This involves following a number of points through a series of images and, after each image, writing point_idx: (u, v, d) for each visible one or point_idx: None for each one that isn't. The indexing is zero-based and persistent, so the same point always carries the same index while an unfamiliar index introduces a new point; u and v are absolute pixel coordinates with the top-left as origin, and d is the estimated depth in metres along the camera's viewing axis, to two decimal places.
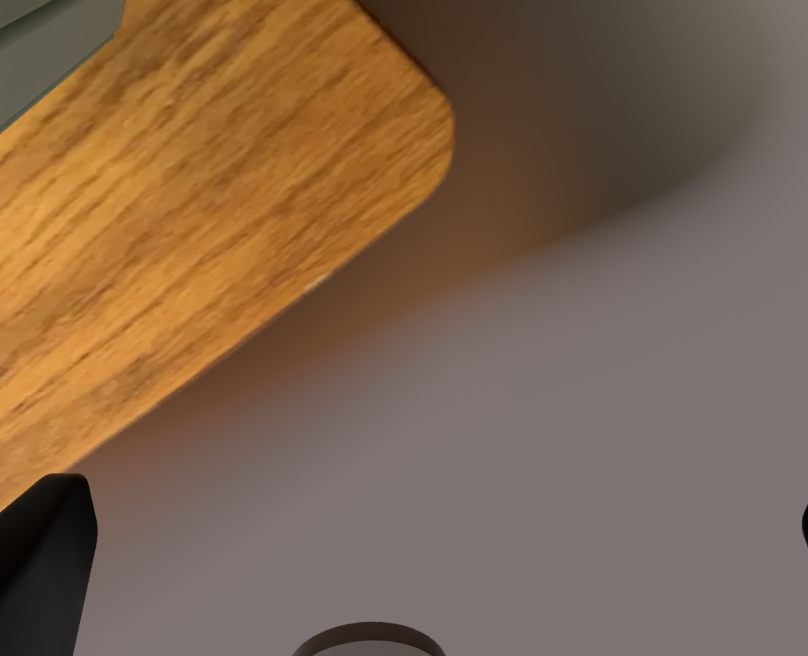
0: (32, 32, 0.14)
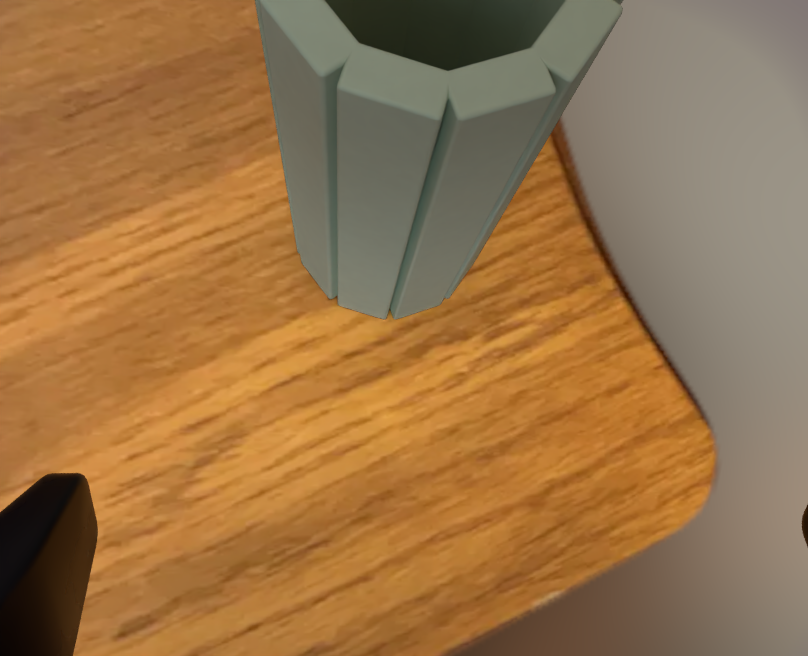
0: None
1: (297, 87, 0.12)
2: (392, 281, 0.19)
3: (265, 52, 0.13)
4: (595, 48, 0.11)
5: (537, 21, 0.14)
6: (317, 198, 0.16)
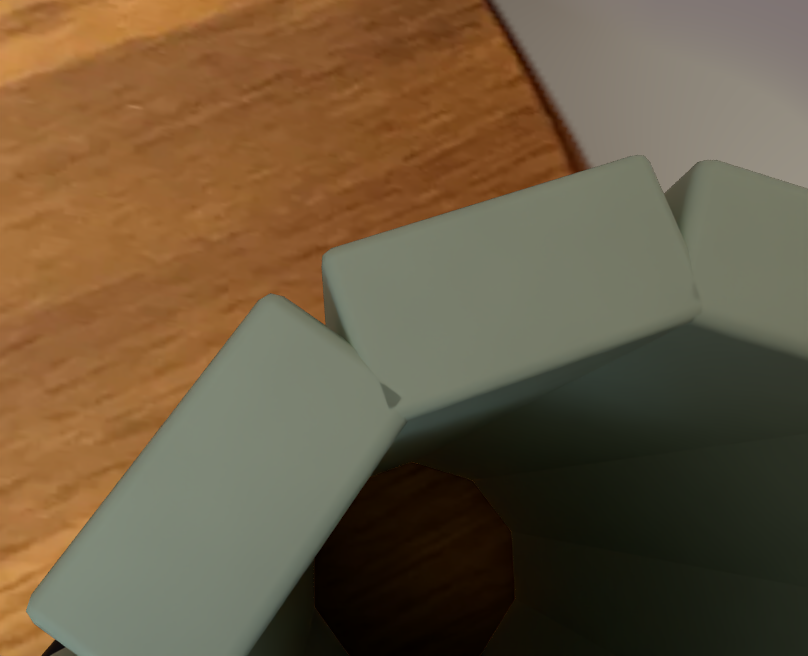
0: None
1: None
2: None
3: None
4: None
5: None
6: None
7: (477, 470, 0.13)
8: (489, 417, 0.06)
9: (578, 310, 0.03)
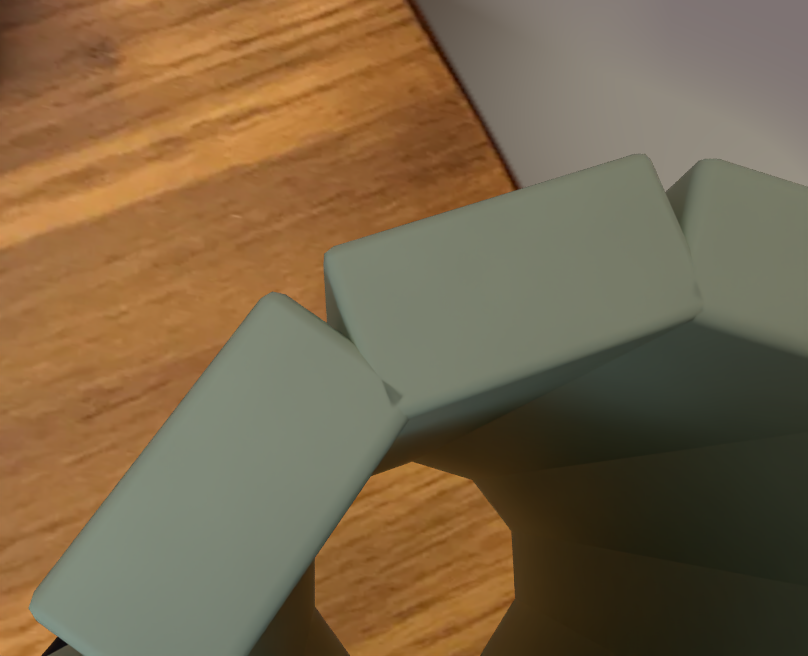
0: None
1: None
2: None
3: None
4: None
5: None
6: None
7: (477, 470, 0.13)
8: (490, 416, 0.06)
9: (580, 308, 0.03)
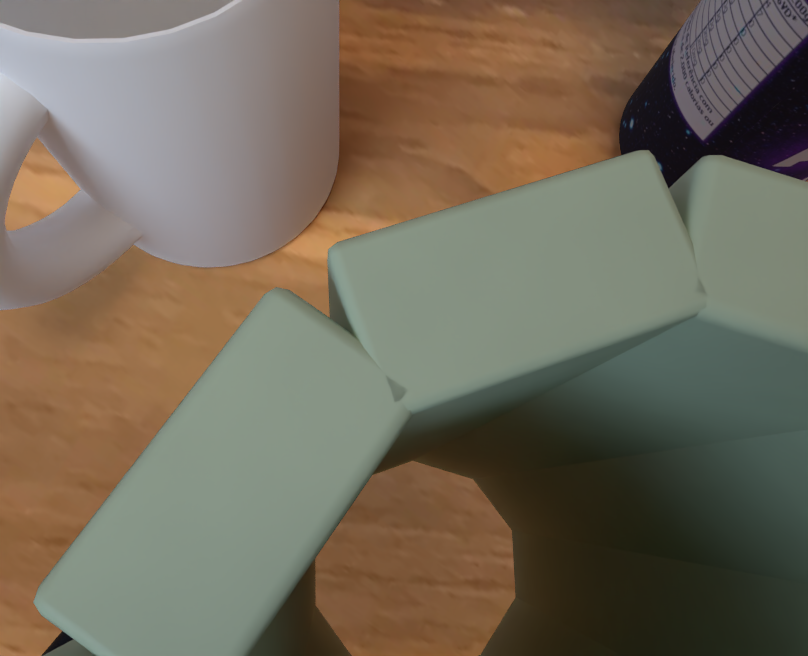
0: None
1: None
2: None
3: None
4: None
5: None
6: None
7: (478, 469, 0.13)
8: (492, 414, 0.06)
9: (583, 304, 0.03)
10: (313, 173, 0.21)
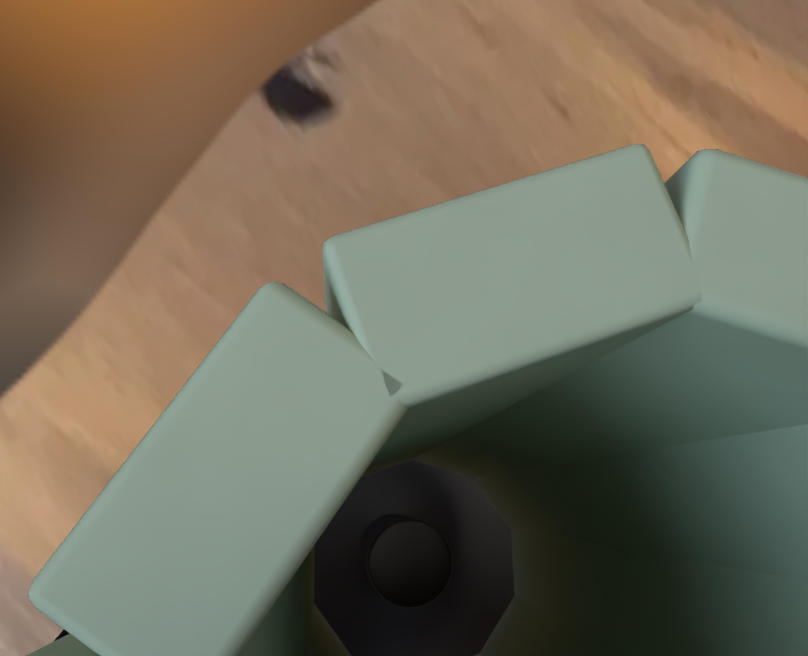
0: None
1: None
2: None
3: None
4: None
5: None
6: None
7: (477, 467, 0.13)
8: (489, 410, 0.06)
9: (578, 297, 0.03)
10: None
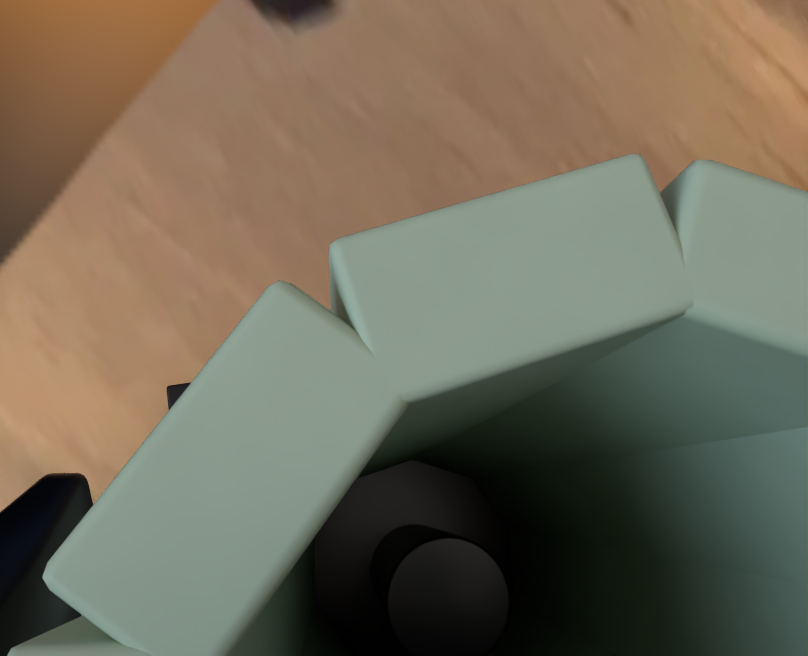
0: None
1: None
2: None
3: None
4: None
5: None
6: None
7: (477, 468, 0.13)
8: (489, 411, 0.06)
9: (574, 301, 0.03)
10: None
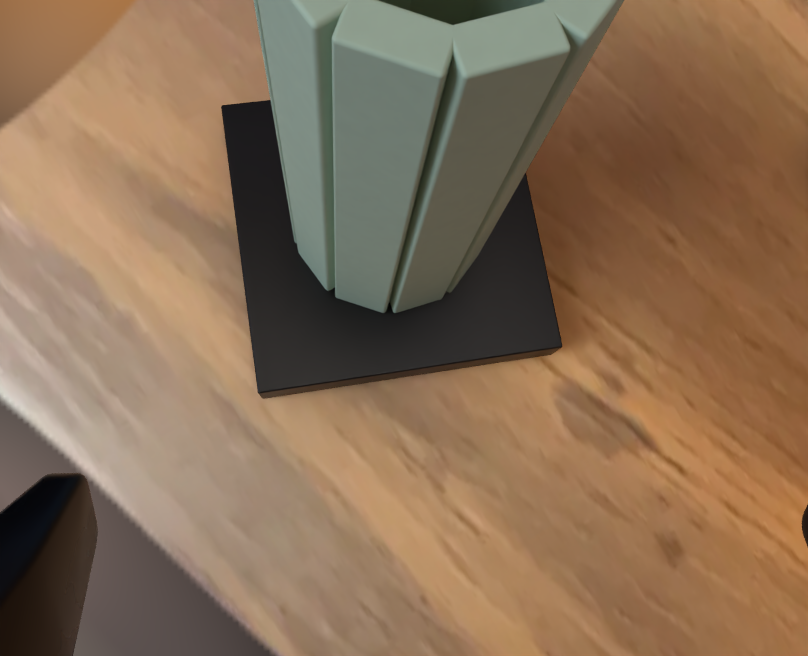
0: (540, 145, 0.16)
1: (290, 45, 0.11)
2: (391, 269, 0.18)
3: (257, 11, 0.12)
4: (613, 4, 0.10)
5: None
6: (312, 176, 0.15)
7: None
8: None
9: None
10: None
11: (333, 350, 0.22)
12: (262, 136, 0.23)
